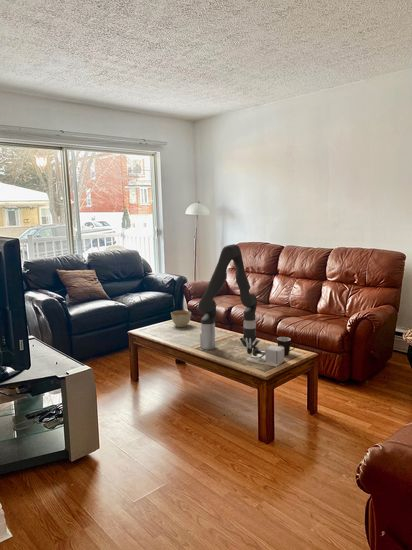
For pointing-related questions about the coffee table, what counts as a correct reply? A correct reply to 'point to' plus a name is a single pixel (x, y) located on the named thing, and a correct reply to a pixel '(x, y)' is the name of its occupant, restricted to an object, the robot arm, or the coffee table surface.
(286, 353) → the coffee mug
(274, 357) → the gauge body
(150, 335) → the coffee table surface
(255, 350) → the plunger
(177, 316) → the planter bowl
